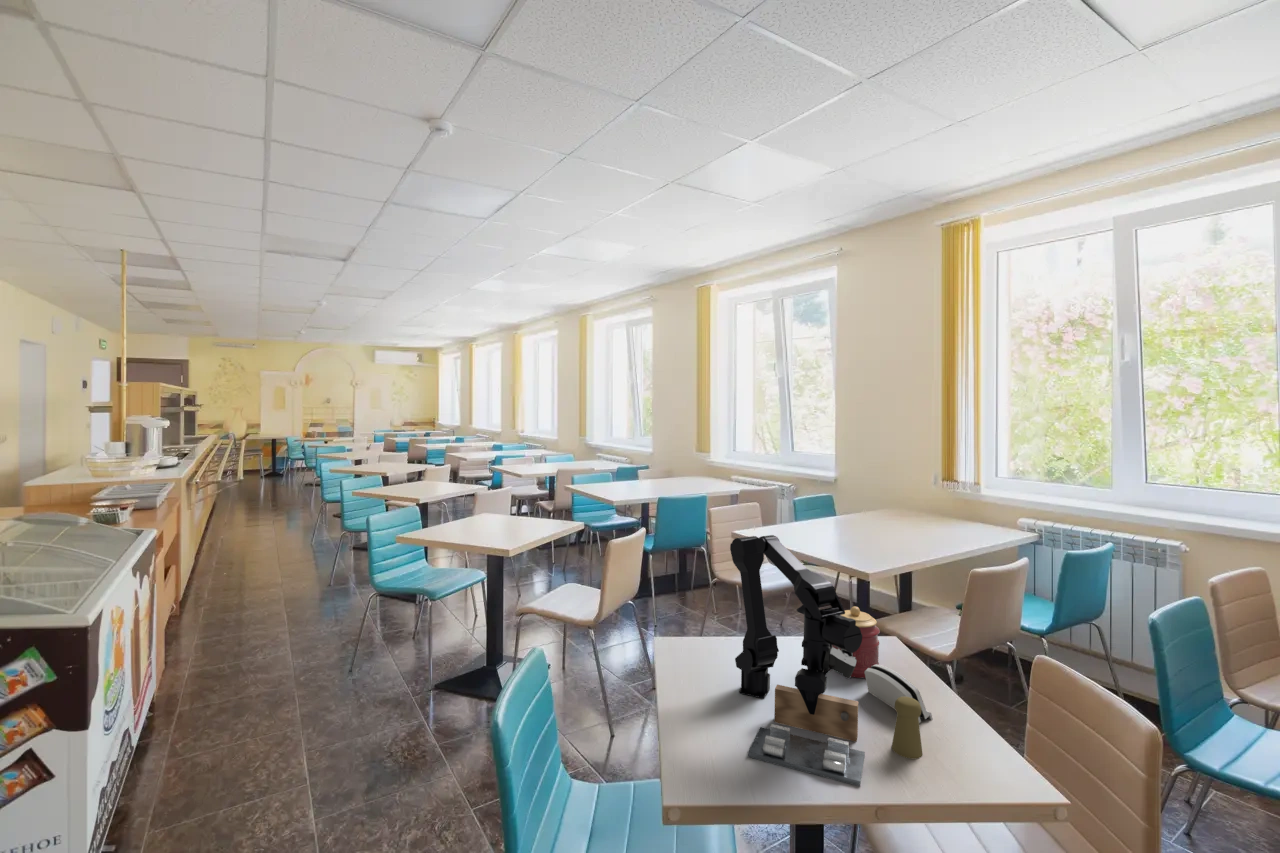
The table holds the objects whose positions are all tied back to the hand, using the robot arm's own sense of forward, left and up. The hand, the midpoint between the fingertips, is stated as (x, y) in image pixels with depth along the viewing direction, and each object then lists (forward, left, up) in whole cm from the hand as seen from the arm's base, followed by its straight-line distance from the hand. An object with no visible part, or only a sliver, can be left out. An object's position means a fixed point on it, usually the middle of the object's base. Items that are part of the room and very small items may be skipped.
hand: (815, 704), depth 133 cm
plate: (0, -12, -6) cm, 13 cm away
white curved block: (+16, +20, -6) cm, 26 cm away
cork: (+19, 0, -6) cm, 20 cm away
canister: (+5, +38, -6) cm, 39 cm away
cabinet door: (0, 0, -6) cm, 6 cm away
